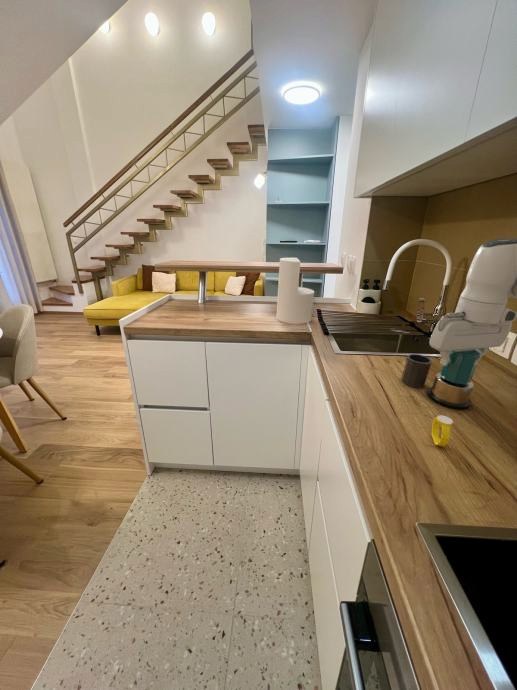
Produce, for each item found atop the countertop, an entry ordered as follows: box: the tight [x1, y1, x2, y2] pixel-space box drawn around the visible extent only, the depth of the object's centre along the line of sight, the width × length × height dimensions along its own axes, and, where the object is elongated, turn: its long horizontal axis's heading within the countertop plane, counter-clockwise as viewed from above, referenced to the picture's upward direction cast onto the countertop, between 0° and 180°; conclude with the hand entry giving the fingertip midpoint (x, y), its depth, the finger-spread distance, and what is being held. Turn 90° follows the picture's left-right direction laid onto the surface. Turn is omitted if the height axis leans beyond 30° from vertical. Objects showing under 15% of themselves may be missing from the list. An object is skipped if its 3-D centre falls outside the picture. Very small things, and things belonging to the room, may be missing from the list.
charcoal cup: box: [400, 353, 433, 389], centre depth 82 cm, size 6×6×8 cm
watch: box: [431, 414, 454, 447], centre depth 59 cm, size 6×3×6 cm, turn 163°
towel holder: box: [426, 372, 475, 411], centre depth 73 cm, size 10×10×14 cm
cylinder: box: [275, 257, 315, 325], centre depth 133 cm, size 17×17×28 cm
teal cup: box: [440, 349, 480, 385], centre depth 72 cm, size 6×6×8 cm
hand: (459, 363), depth 72 cm, fingers open, 8 cm apart
